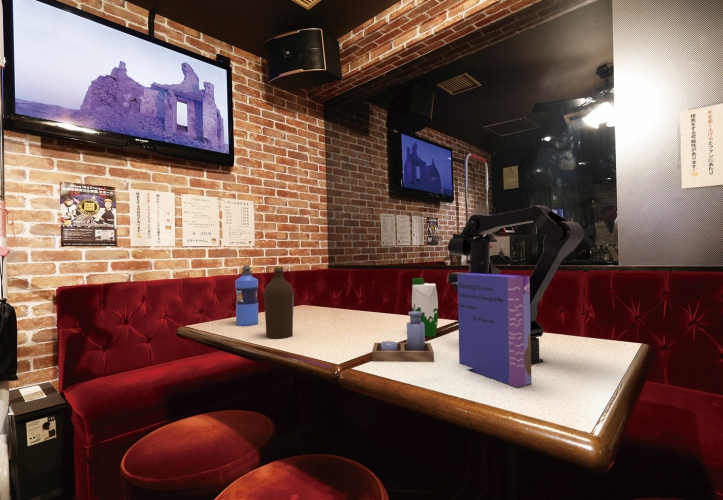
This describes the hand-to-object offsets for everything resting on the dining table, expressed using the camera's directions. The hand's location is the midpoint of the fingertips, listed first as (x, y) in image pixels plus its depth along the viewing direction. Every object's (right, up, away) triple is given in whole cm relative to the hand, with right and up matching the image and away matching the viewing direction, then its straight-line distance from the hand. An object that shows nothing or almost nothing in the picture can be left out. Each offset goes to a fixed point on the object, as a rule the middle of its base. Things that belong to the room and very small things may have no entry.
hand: (477, 308), depth 114 cm
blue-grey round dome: (-27, -11, -10) cm, 31 cm away
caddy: (-24, -12, -10) cm, 29 cm away
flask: (-20, -11, -10) cm, 25 cm away
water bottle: (-84, -14, +48) cm, 98 cm away
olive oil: (-65, -14, +23) cm, 70 cm away
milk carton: (-12, -13, +21) cm, 28 cm away
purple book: (-4, -12, -24) cm, 27 cm away
